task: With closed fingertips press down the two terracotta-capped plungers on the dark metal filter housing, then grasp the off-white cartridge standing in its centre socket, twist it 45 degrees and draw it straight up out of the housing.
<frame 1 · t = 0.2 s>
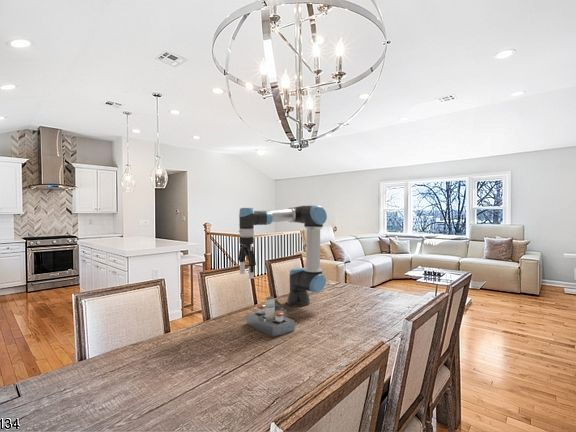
hand: (246, 276, 171), 27 cm above the table, fingers open, 13 cm apart
housing: (270, 326, 169), on the table
cartridge: (270, 327, 169), resting in housing
plunger 2: (279, 319, 163), point 6 cm above the table, slide at 0.0 cm
beverage carton: (275, 315, 189), on the table
plunger 1: (261, 311, 176), point 6 cm above the table, slide at 0.0 cm
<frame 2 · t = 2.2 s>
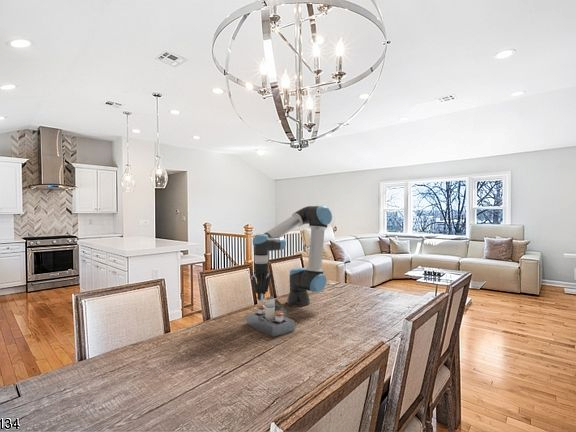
hand: (260, 305, 175), 10 cm above the table, fingers closed
plunger 1: (261, 311, 176), point 6 cm above the table, slide at 0.4 cm, touching gripper
everything else where it was.
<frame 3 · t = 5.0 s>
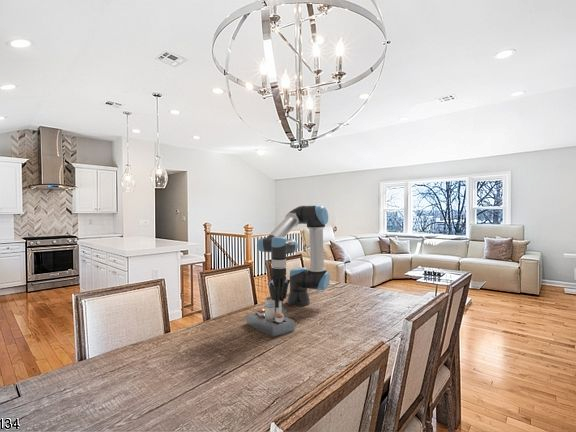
hand: (278, 313, 163), 9 cm above the table, fingers closed
plunger 2: (279, 320, 163), point 6 cm above the table, slide at 0.8 cm, touching gripper
plunger 1: (261, 315, 176), point 4 cm above the table, slide at 2.3 cm
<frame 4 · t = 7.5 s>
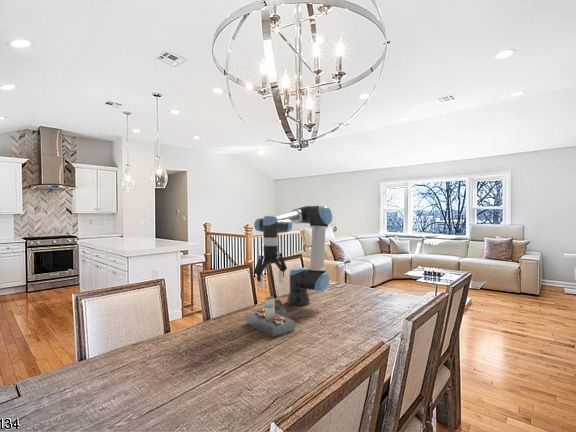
hand: (270, 285, 169), 22 cm above the table, fingers open, 13 cm apart
plunger 2: (279, 323, 163), point 4 cm above the table, slide at 2.3 cm
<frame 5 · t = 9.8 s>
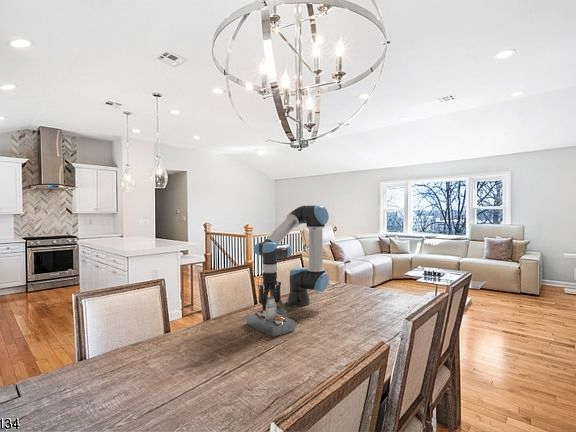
hand: (269, 315, 169), 6 cm above the table, fingers closed on cartridge, 5 cm apart
cartridge: (270, 327, 169), resting in housing, touching gripper
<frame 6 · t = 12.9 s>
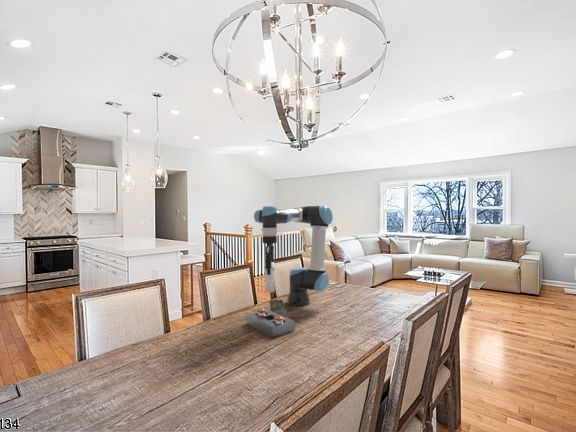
hand: (270, 279, 169), 25 cm above the table, fingers closed on cartridge, 5 cm apart
cartridge: (270, 291, 169), point 19 cm above the table, touching gripper
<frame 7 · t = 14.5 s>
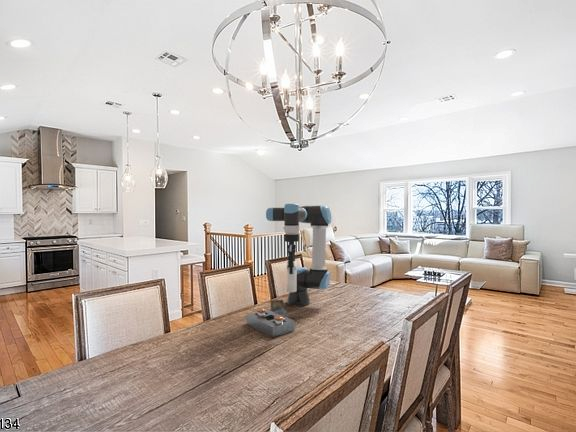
hand: (291, 278, 164), 27 cm above the table, fingers closed on cartridge, 5 cm apart
cartridge: (291, 290, 164), point 20 cm above the table, touching gripper
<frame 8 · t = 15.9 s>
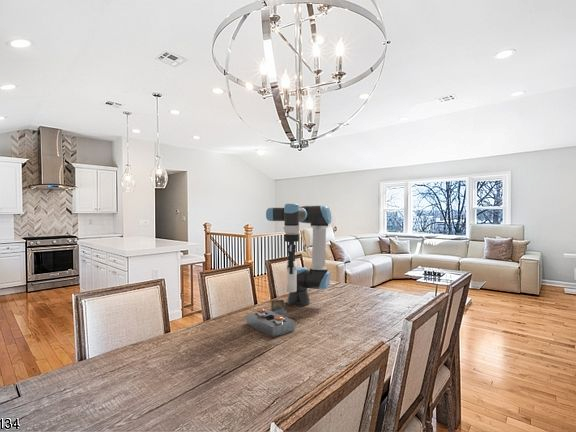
hand: (291, 278, 164), 27 cm above the table, fingers closed on cartridge, 5 cm apart
cartridge: (291, 290, 164), point 20 cm above the table, touching gripper
at the end: cartridge point 20.4 cm above the table; plunger 1 slide at 2.3 cm; plunger 2 slide at 2.3 cm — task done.
